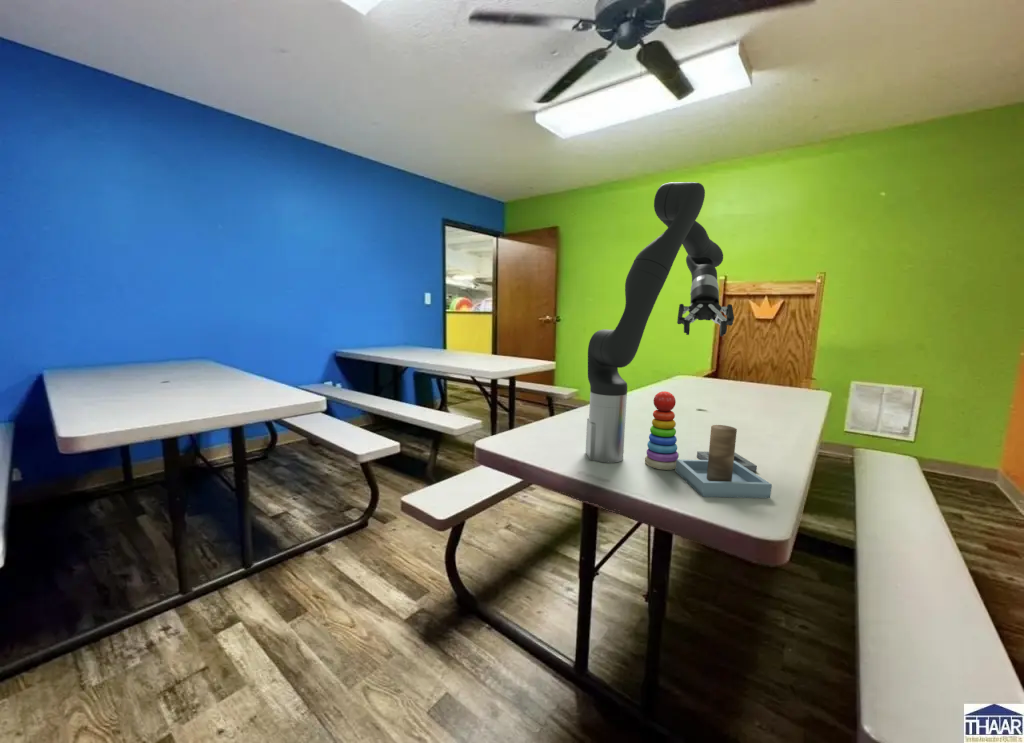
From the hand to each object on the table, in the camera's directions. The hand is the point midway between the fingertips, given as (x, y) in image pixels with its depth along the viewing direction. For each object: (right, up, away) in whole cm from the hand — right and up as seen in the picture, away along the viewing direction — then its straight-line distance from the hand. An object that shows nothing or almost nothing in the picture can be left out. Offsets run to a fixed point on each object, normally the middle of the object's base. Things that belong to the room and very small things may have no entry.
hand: (704, 333), depth 111 cm
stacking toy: (-15, -34, -9) cm, 38 cm away
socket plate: (+2, -34, -7) cm, 35 cm away
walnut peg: (-7, -35, -20) cm, 41 cm away
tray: (-6, -35, -20) cm, 41 cm away
